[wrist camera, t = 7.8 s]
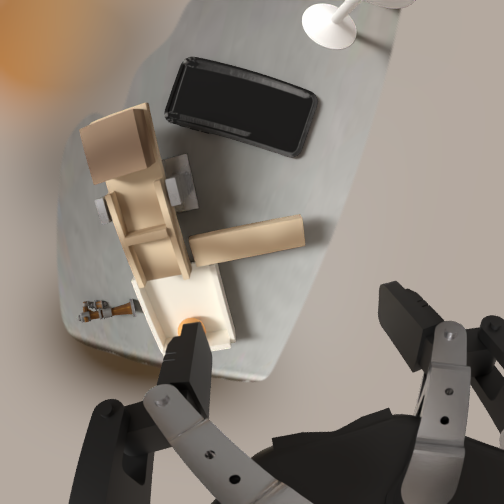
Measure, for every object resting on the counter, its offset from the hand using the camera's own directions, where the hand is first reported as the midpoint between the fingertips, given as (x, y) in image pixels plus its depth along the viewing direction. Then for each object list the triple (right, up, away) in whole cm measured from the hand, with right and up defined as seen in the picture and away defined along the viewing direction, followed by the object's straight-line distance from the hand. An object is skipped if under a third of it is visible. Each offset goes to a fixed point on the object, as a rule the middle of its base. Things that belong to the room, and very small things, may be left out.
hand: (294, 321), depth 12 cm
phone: (-3, +18, +16) cm, 24 cm away
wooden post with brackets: (-21, -4, +23) cm, 31 cm away
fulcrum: (-13, +10, +18) cm, 24 cm away
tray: (-10, -3, +23) cm, 25 cm away
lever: (-6, +9, +14) cm, 18 cm away
